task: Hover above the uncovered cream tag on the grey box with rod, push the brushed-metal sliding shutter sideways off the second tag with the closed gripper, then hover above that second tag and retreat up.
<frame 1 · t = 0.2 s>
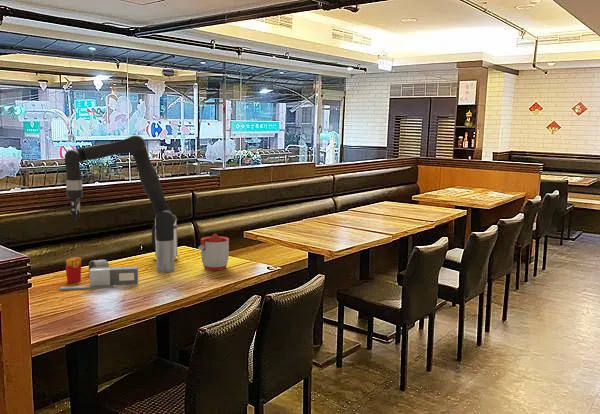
hand: (75, 219, 277), 29 cm above the table, tool pointing down, fingers open, 8 cm apart
ceramic mug: (97, 273, 284), on the table
grey box with rod: (114, 284, 265), on the table
coffee press: (164, 260, 316), on the table
citrus juicer: (213, 269, 298), on the table
sliding shutter: (100, 277, 258), point 5 cm above the table, slide at 0.0 cm
french fries: (74, 281, 268), on the table
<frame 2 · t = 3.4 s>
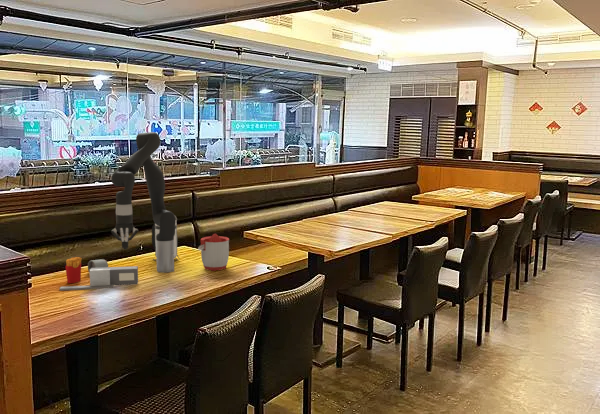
hand: (125, 248, 258), 19 cm above the table, tool pointing down, fingers closed
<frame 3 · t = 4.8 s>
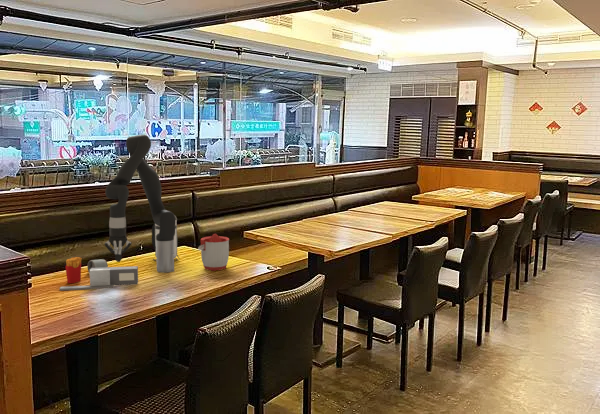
hand: (118, 261, 259), 13 cm above the table, tool pointing down, fingers closed
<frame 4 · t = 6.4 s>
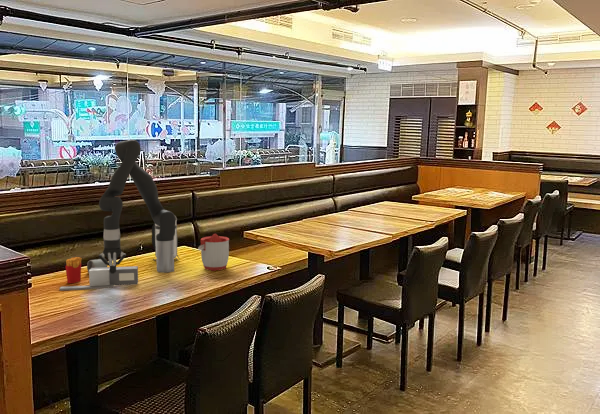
hand: (113, 273, 259), 7 cm above the table, tool pointing down, fingers closed
sliding shutter: (99, 277, 258), point 5 cm above the table, slide at 0.2 cm, touching gripper
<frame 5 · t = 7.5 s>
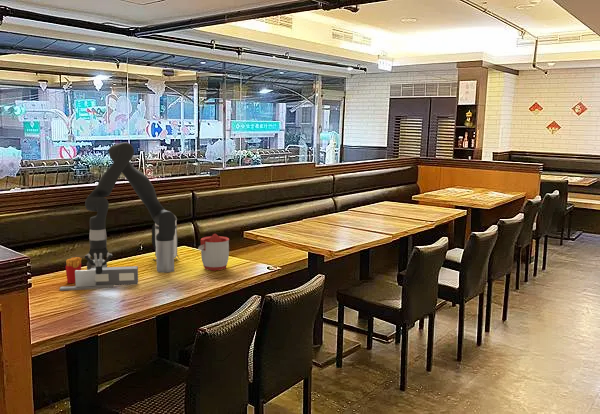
hand: (99, 273, 257), 7 cm above the table, tool pointing down, fingers closed
sliding shutter: (85, 278, 256), point 5 cm above the table, slide at 6.5 cm, touching gripper
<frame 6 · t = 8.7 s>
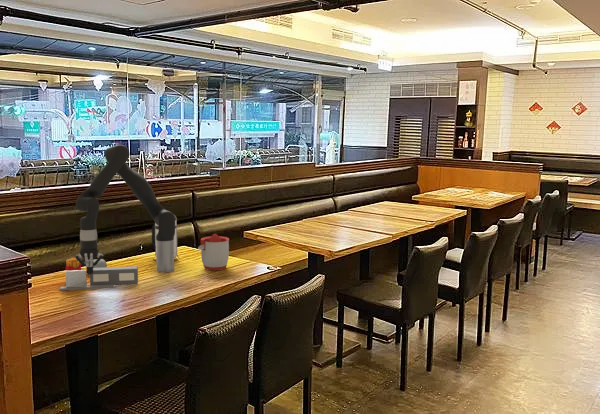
hand: (90, 274, 256), 7 cm above the table, tool pointing down, fingers closed
sliding shutter: (76, 278, 255), point 5 cm above the table, slide at 10.7 cm, touching gripper
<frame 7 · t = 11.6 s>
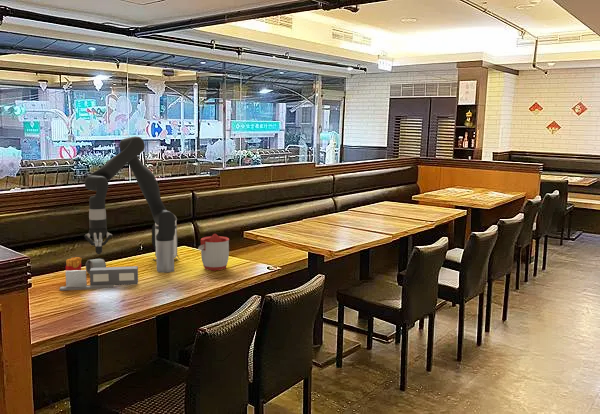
hand: (99, 253, 256), 17 cm above the table, tool pointing down, fingers closed
sliding shutter: (76, 278, 255), point 5 cm above the table, slide at 10.7 cm
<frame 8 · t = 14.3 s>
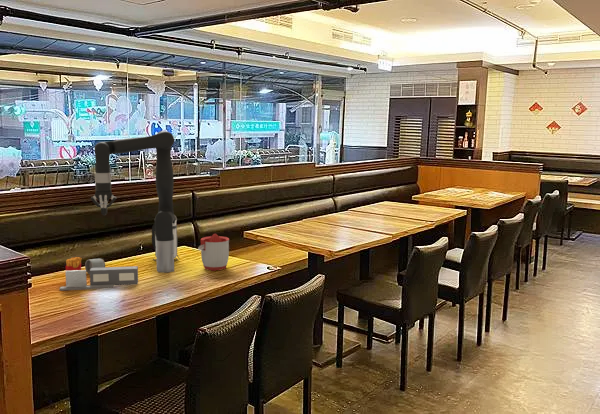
hand: (104, 215, 276), 32 cm above the table, tool pointing down, fingers closed
at the end: sliding shutter slide at 10.7 cm; french fries moved 0.2 cm from its start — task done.
